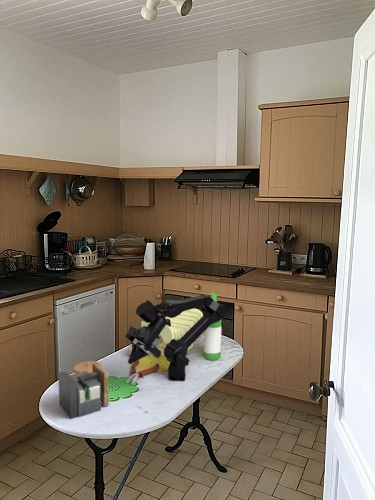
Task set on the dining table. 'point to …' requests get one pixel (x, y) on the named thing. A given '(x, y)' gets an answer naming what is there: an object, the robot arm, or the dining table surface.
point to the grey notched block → (78, 395)
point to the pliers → (140, 372)
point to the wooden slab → (102, 378)
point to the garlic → (130, 350)
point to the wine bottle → (213, 338)
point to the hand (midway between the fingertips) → (128, 363)
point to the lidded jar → (85, 366)
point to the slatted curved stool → (178, 327)
